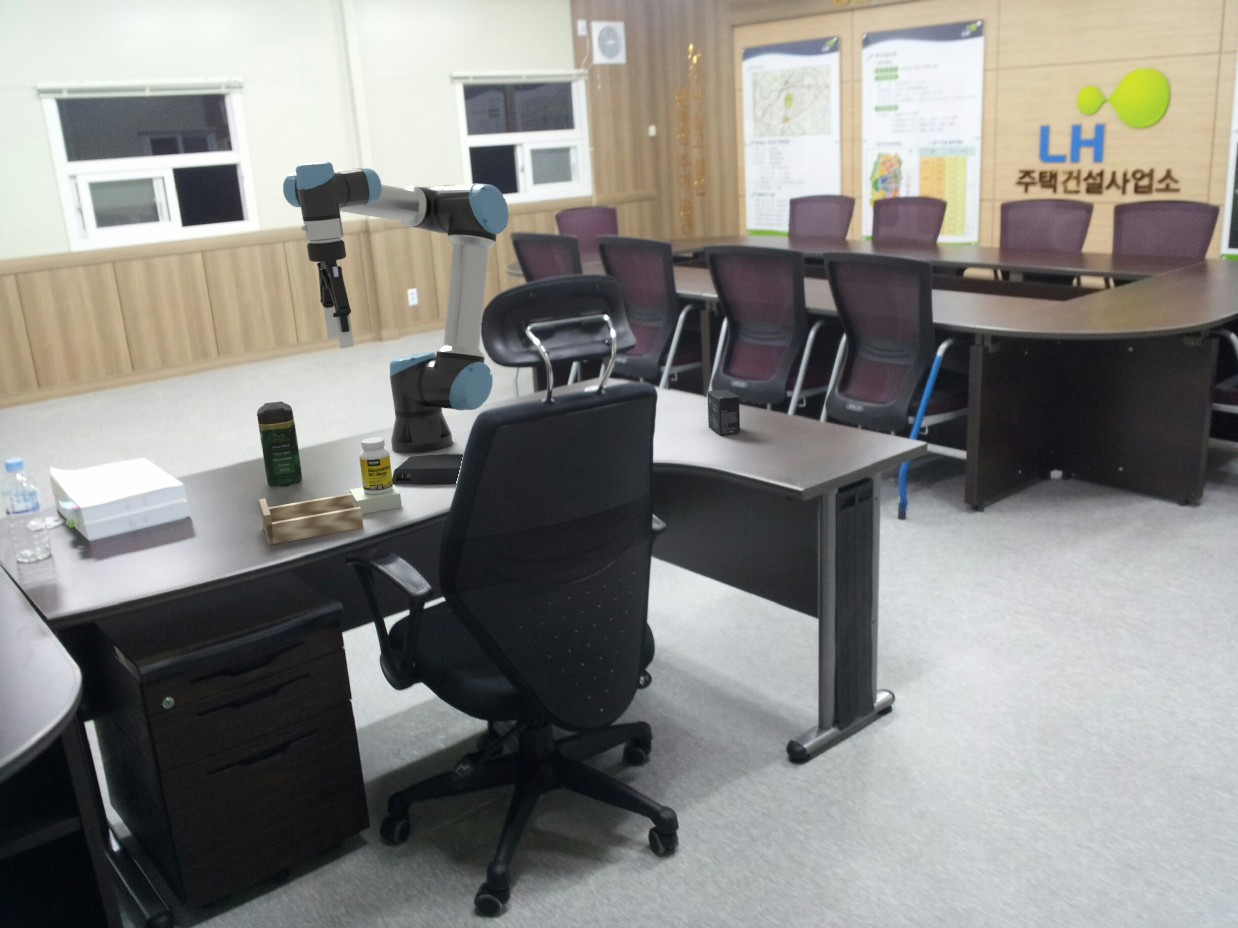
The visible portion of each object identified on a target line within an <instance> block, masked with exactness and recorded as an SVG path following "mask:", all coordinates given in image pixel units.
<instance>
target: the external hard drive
mask: <svg viewBox="0 0 1238 928" xmlns="http://www.w3.org/2000/svg"><path fill="white" fill-rule="evenodd" d="M463 454H464V453H462V454H461V453H438V454H437V453H436V454H434V453H433V454H421V455H412V456H409V457H408V458H407V459H406V460H405V461H403V462H402V463H401V464H400V465H399V466H397V468H395V469H394V471H393V474H392V482H393V485H402V486H403V485H406V486H407V485H408V486H410V485H412V486H439V485H441V486H445V485H451V486H452V485H457V484H456V481H457V478H458V474H459V470H460V466H461V461H462V457H463Z"/></svg>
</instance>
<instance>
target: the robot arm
mask: <svg viewBox="0 0 1238 928" xmlns="http://www.w3.org/2000/svg"><path fill="white" fill-rule="evenodd" d="M282 185H283V186H282V189H283V190H282V193H283V196H284V199H285V201H286V202H287V203H288V204H289V205H290V206H292V207H294V208H300V209H301V210H300V211H301V216H302V221H303V225H302V226H301V231H303V232H304V235H305V239H306V241H308V242H307V245H306V247H307V255H308V259H309V261H310V262H313V263H317V264H316V265H317V266H316V267H317V270H318V281H319V293H320V294H319V295H320V304H322V307H323V314H324V319H325V326H326V333H327V338H328V339H330V340H331V339H335V338H338V342H339V348H340V349H347V348H354V347H355V345H354V344H355V343H354V338H353V337H354V336H353V330H352V325H351V324H352V323H351V317H350V314H351V312H352V308H351V306H350V302H349V298H348V293H347V288H346V285H345V281H344V275H343V268H342V267H341V265H338V263H337V261H338V260H343V259H345V258H346V257H347V250H346V244H345V241H344V239H342V238H343V237H344V230H343V222H342V216H341V212H343V213H349V214H355V215H361V216H368V217H373V218H374V217H375V218H379V219H380V218H381V219H388V220H393V221H399V222H401V223H402V224H403V225H405V226H406V227H410V228H411V227H412V228H415V229H416V228H417V229H422V230H426V231H430V232H435V233H439V234H446V235H447V239H448V241H449V242H450V243H451V245H452V252H451V253H452V254H451V264H450V272H449V273H450V274H449V284H448V295H447V296H448V297H447V307H446V313H445V314H446V315H445V316H446V317H445V327H444V338H443V344H442V346H441V347H440V348H438V349H437V350H436V351H435V352H434V351H425V352H418V353H413V354H407V355H403V356H399V357H396V358H395V359H393V360H391V361H390V362H389V378H390V387H391V394H392V400H393V407H394V408H393V409H394V416H395V417H394V418H395V420H394V422H393V423H394V424H393V429H392V434H391V441H390V442H391V448H392V450H393V451H395V452H398V453H403V454H404V453H405V454H417V453H428V452H433V451H437V450H441V449H444V448H446V447H449V446H451V445H452V443H453V434H452V431H451V429H450V427H449V424H448V423H447V420H446V418H445V416H444V414H443V409H450V410H457V411H472V410H473V411H474V410H477V409H479V408H480V407H482V406H483V405H484V403H485V402H486V401H487V400H488V399H489V396H490V395H491V392H492V389H493V382H494V381H493V374H492V373H491V372H492V371H491V369H490V367H489V366H488V365H487V364H486V363H485V357H486V356H485V355H484V353H483V352H482V351H481V348H480V347H481V346H480V344H481V343H480V342H481V333H482V325H481V323H483V314H484V313H483V312H484V303H485V292H486V284H487V283H486V282H487V274H488V273H487V272H488V263H489V262H488V260H489V253H490V252H489V251H490V250H491V249H492V248H493V247H494V246H495V245H496V242H497V235H499V234H502V233H503V232H504V231H505V229H506V228H507V226H508V222H509V213H510V212H509V207H508V204H507V201H506V199H505V197H504V195H503V193H502V192H501V191H500V190H499V188H498V187H496V186H494V185H492V184H488V183H487V184H486V183H479V182H475V183H468V184H451V185H450V184H445V185H436V186H435V185H434V186H416V185H410V186H409V185H408V186H406V187H405V188H404V187H402V188H401V187H399V186H391V185H386V184H382V181H381V178H380V176H379V175H378V173H377V172H376V171H375V170H374V169H372V168H370V167H356V168H349V169H348V168H347V169H345V168H344V169H334V165H333V164H332V163H331V162H330V161H321V162H311V163H310V162H309V163H301V164H298V165H297V166H296V167H295V172H292V173H290V174H288V175H287V176H286V177H285V178H284V180H283V184H282Z"/></svg>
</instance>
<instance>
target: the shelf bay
mask: <svg viewBox="0 0 1238 928" xmlns="http://www.w3.org/2000/svg"><path fill="white" fill-rule="evenodd" d="M258 503H259V510H260V516H261V521H262V526H263V531H264V534H265V536H266V540H267V544H268V545H269V546H270V545H276V544H280V543H286V542H291V541H297V540H303V539H308V538H313V537H318V536H325V535H329V534H335V533H341V532H345V531H352V530H355V529H357V530H358V529H361V528H364V523H363V521H364V520H363V516H362V515H363V514H362V513H361V508H360V507H355V508H354V503H353V496H352V493H350V492H349V493H345V494H338V495H332V496H326V497H321V498H314V499H310V500H303V501H298V502H297V501H296V502H292V503H286V504H281V505H275V506H268V503H267V501H266V498H260V499H258Z"/></svg>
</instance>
